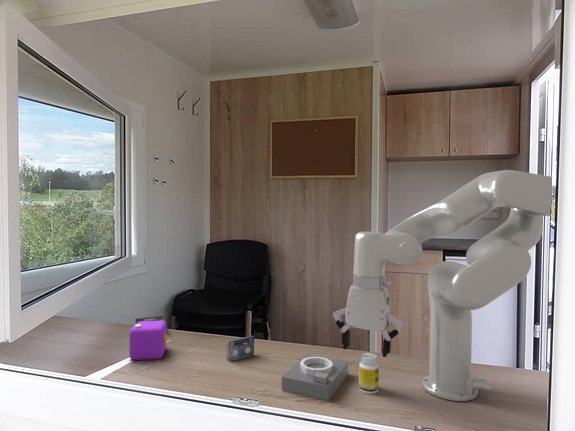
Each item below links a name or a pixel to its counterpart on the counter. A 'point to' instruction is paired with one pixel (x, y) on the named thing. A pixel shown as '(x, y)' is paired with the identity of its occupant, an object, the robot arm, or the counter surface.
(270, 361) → the counter surface
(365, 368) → the supplement bottle
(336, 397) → the counter surface
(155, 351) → the toy camera
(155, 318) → the battery charger
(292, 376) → the grey ring holder base
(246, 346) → the mini dv tape
